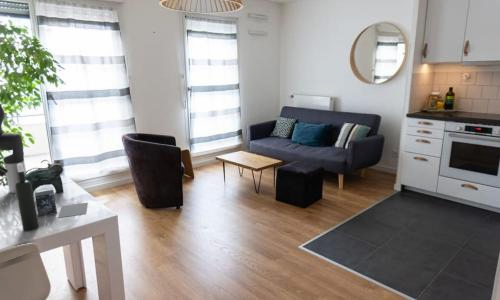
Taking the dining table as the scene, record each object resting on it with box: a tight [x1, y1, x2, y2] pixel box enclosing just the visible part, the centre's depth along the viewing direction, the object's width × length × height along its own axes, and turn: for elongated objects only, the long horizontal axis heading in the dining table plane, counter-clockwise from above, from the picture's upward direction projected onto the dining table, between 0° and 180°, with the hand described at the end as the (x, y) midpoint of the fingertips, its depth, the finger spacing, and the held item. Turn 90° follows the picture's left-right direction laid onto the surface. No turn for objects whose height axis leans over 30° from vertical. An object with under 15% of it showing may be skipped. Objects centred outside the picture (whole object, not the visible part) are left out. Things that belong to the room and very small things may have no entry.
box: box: [34, 189, 58, 217], centre depth 160 cm, size 8×6×11 cm
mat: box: [57, 202, 89, 219], centre depth 165 cm, size 14×12×1 cm
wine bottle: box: [15, 163, 40, 232], centre depth 143 cm, size 6×6×30 cm
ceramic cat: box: [25, 159, 64, 196], centre depth 180 cm, size 20×6×20 cm, turn 136°
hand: (5, 173), depth 151 cm, fingers open, 2 cm apart
